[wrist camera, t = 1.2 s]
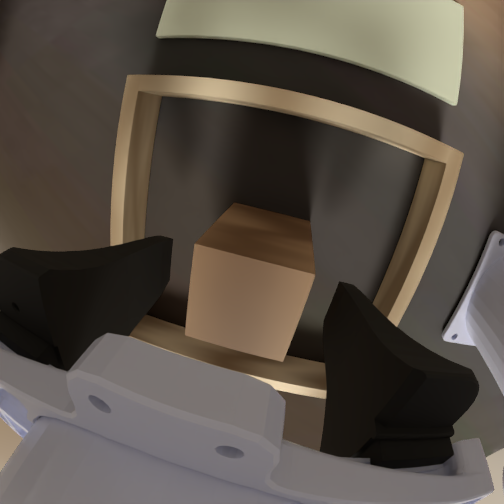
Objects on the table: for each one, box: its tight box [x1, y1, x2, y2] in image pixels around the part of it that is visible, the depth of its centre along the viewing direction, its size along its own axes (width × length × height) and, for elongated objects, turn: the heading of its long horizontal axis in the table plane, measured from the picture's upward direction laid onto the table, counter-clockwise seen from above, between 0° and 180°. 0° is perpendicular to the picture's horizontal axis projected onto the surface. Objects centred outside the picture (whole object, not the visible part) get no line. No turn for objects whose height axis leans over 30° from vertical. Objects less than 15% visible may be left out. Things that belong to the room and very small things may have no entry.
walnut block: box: [185, 203, 315, 362], centre depth 13 cm, size 4×4×6 cm
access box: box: [111, 75, 464, 399], centre depth 14 cm, size 16×16×2 cm
